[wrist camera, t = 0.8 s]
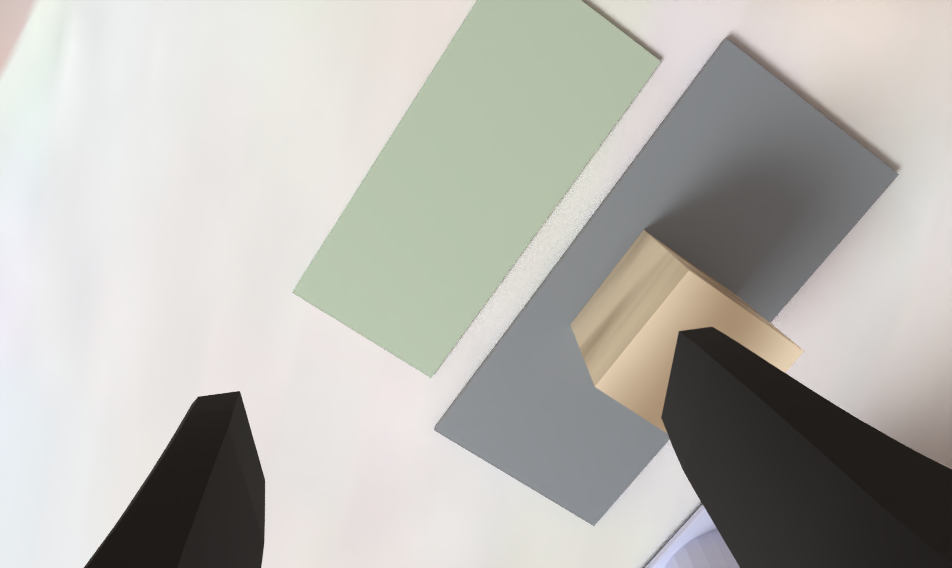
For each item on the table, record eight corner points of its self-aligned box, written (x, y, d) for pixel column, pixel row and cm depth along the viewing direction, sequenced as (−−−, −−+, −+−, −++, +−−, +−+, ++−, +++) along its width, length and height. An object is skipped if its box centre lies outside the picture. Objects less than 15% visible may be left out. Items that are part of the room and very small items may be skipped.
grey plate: (894, 173, 27) (899, 174, 27) (592, 522, 32) (593, 526, 31) (724, 39, 25) (727, 38, 25) (434, 426, 30) (434, 430, 30)
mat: (660, 61, 26) (661, 61, 25) (431, 376, 29) (431, 377, 29) (511, -53, 24) (511, -54, 24) (293, 291, 28) (292, 292, 28)
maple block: (736, 295, 28) (804, 351, 22) (661, 384, 29) (707, 459, 24) (643, 229, 27) (689, 270, 21) (570, 324, 28) (594, 386, 23)
